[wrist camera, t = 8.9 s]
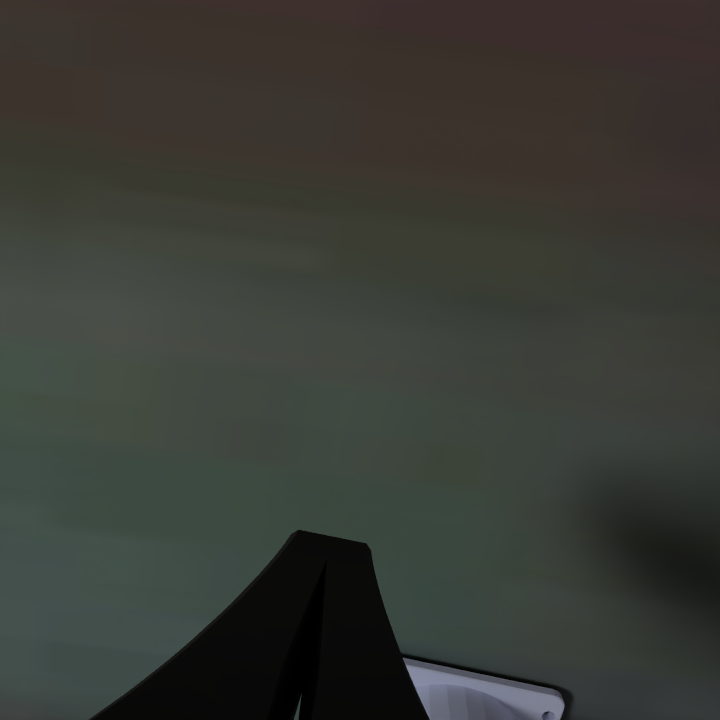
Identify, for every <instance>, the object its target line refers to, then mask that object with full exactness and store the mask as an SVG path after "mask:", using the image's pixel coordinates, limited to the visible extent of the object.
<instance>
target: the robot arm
mask: <svg viewBox="0 0 720 720" xmlns="http://www.w3.org/2000/svg"><path fill="white" fill-rule="evenodd" d="M301 693H302V696H301ZM300 697H301V704H300V712H299V720H560V719H561V716H562V714H563V711H564V707H565V704H564V701H563V698H562V696H561V694H560V693H559V692H558V691H557V690H554V689H550V688H545V687H540V686H536V685H531V684H526V683H521V682H517V681H512V680H507V679H502V678H497V677H493V676H488V675H483V674H478V673H473V672H469V671H464V670H459V669H454V668H450V667H445V666H440V665H435V664H430V663H426V662H421V661H416V660H411V659H407V658H403V657H402V655H401V652H400V650H399V647H398V645H397V642H396V639H395V636H394V633H393V630H392V628H391V625H390V622H389V619H388V616H387V614H386V610H385V607H384V604H383V601H382V598H381V594H380V591H379V587H378V583H377V580H376V575H375V571H374V567H373V561H372V555H371V550H370V548H369V547H368V545H367V544H366V543H361V542H357V541H352V540H347V539H342V538H337V537H332V536H327V535H322V534H317V533H312V532H307V531H302V530H297V531H296V532H294V533H292V534H291V535H290V537H289V538H288V540H287V541H286V543H285V544H284V545H283V547H282V548H281V549H280V550H279V552H278V553H277V554H276V555H275V557H274V558H273V559H272V560H271V561H270V563H269V564H268V565H267V566H266V567H265V568H264V569H263V571H262V572H261V573H260V574H259V575H258V576H257V577H256V578H255V579H254V580H253V581H252V582H251V583H250V584H249V586H248V587H247V588H246V589H245V590H244V591H243V592H242V593H241V594H240V595H239V596H238V597H237V598H236V599H235V600H234V601H233V602H232V603H231V604H230V605H229V606H228V607H227V608H226V609H225V610H224V611H223V612H222V613H221V614H220V615H219V616H217V617H216V618H215V619H214V620H213V621H212V622H211V623H210V624H209V625H208V626H207V627H205V628H204V629H203V630H202V631H201V632H200V633H199V634H198V635H197V636H196V637H195V638H194V639H192V640H191V641H190V642H189V643H188V644H187V645H186V646H184V647H183V648H182V649H181V650H180V651H179V652H177V653H176V654H175V655H174V656H173V657H171V658H170V659H169V660H168V661H167V662H165V663H164V664H163V665H162V666H160V667H159V668H158V669H157V670H155V671H154V672H153V673H152V674H150V675H149V676H148V677H146V678H145V679H144V680H143V681H141V682H140V683H139V684H137V685H136V686H135V687H134V688H132V689H131V690H130V691H128V692H127V693H126V694H124V695H123V696H121V697H120V698H119V699H117V700H116V701H114V702H113V703H112V704H110V705H109V706H107V707H106V708H105V709H103V710H102V711H100V712H99V713H98V714H96V715H95V716H93V717H92V718H91V719H89V720H294V717H295V713H296V710H297V707H298V703H299V700H300ZM547 711H550V712H548V713H544V712H547Z"/></svg>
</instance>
